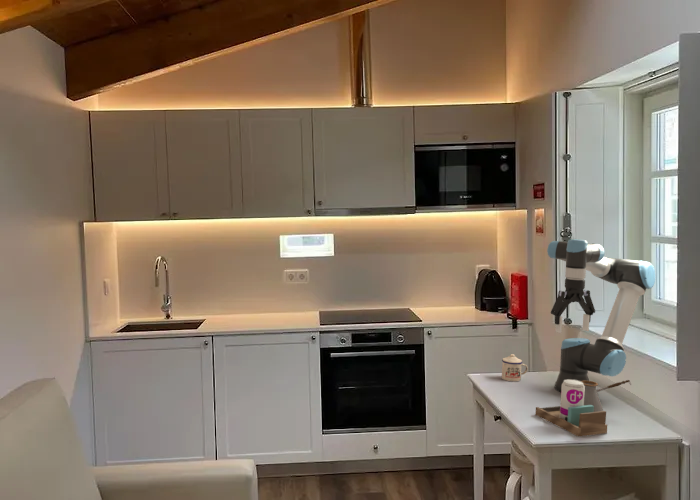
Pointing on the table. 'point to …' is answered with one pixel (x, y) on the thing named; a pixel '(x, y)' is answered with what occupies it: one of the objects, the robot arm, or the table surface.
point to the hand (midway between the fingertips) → (572, 331)
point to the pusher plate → (578, 413)
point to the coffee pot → (592, 395)
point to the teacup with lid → (512, 368)
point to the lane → (587, 422)
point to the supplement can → (571, 396)
